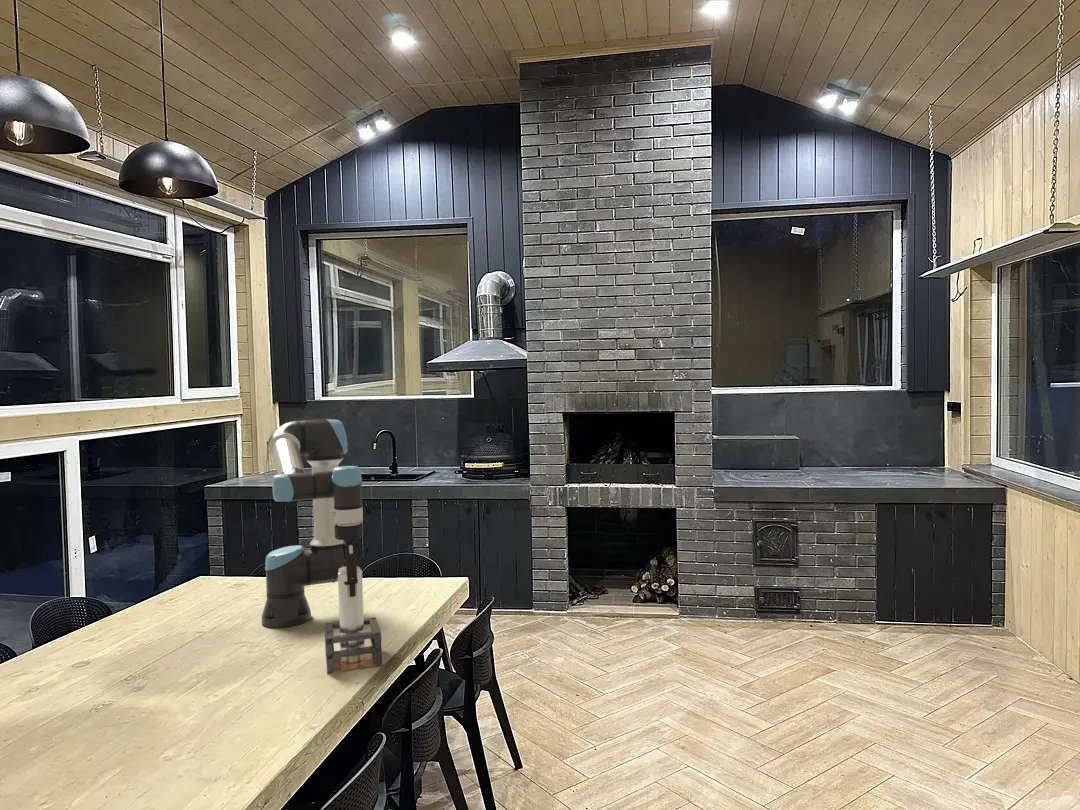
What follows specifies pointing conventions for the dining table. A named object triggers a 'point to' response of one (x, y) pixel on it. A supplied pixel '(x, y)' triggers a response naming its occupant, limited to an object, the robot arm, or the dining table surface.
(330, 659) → the collar stand
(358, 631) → the white tall cylinder
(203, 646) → the dining table surface
